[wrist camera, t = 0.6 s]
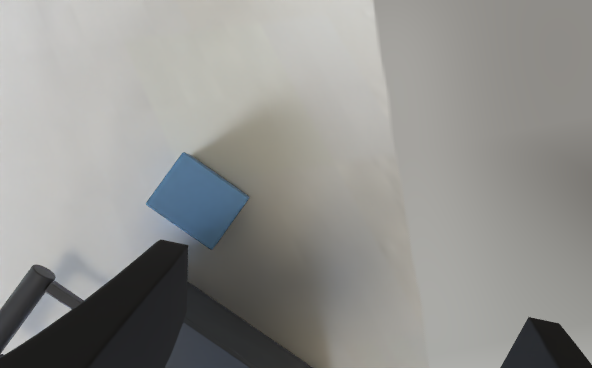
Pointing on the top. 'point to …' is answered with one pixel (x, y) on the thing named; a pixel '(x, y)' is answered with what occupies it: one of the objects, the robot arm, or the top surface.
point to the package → (197, 200)
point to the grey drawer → (31, 300)
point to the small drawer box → (224, 340)
